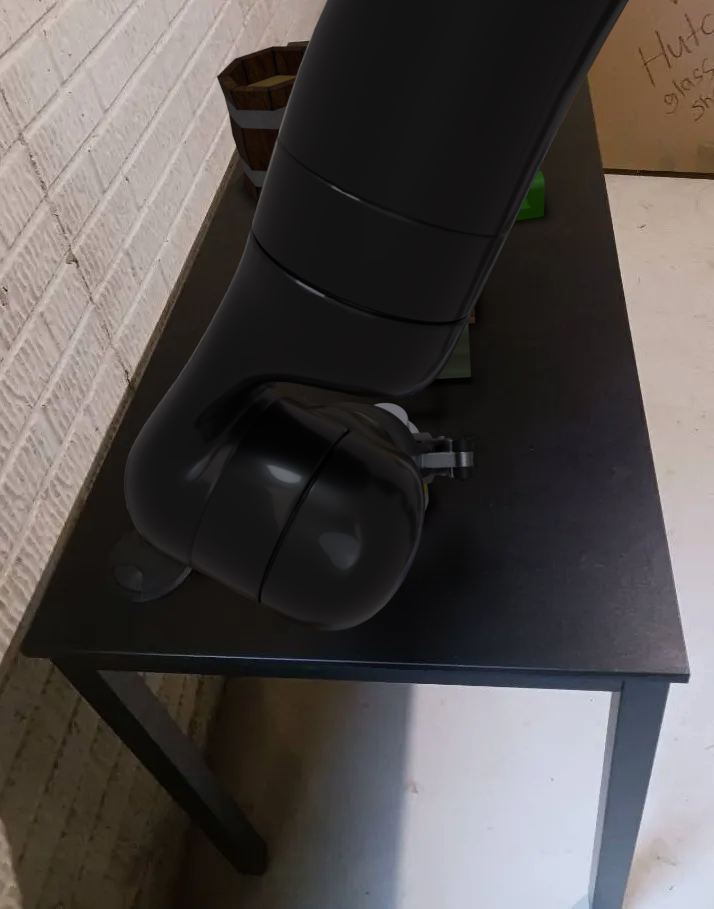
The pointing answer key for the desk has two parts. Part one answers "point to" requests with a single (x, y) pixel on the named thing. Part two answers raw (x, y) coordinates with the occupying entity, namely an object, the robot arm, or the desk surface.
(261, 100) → the mug
